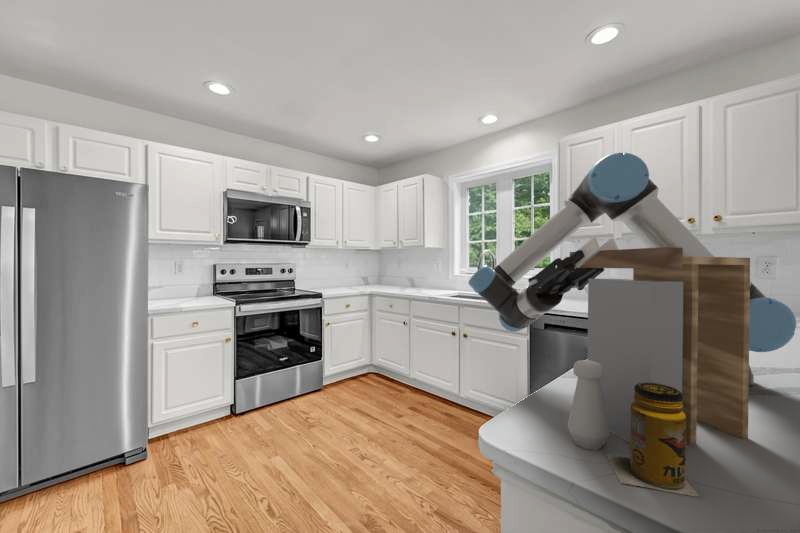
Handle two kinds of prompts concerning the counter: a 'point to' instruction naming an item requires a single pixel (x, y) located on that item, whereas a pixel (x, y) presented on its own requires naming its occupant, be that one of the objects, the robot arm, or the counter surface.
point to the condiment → (656, 441)
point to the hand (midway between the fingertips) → (605, 244)
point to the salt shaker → (588, 407)
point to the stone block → (634, 340)
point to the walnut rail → (637, 258)
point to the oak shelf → (713, 340)
